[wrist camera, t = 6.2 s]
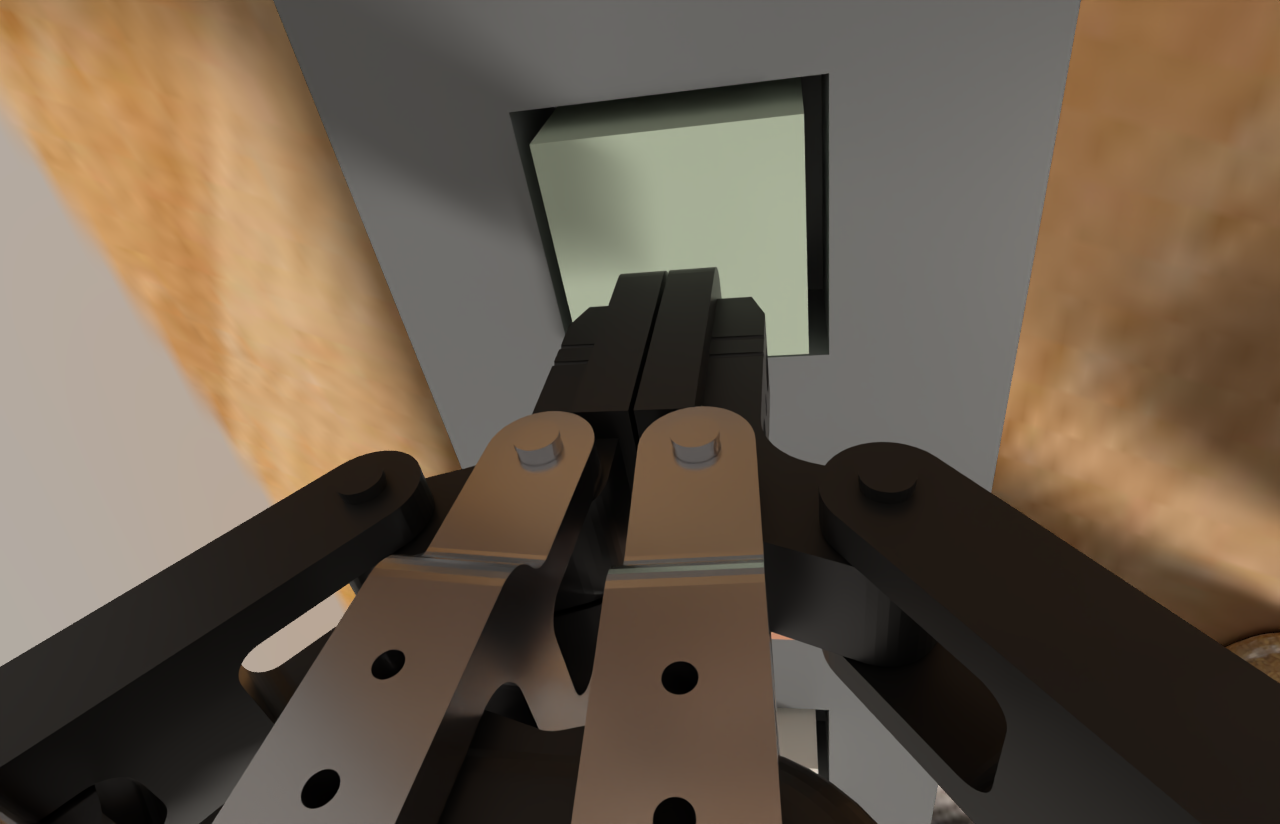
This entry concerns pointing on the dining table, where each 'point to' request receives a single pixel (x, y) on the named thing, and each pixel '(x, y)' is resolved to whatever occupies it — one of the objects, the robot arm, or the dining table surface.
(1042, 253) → the dining table surface
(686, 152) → the button sage
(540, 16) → the button panel
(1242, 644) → the sprinkles bottle
